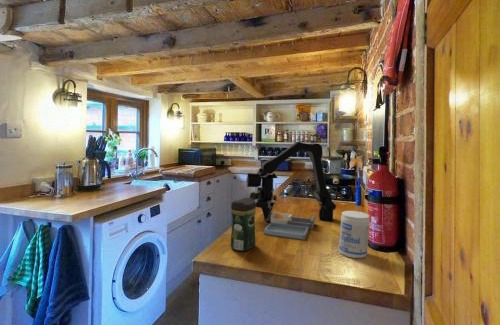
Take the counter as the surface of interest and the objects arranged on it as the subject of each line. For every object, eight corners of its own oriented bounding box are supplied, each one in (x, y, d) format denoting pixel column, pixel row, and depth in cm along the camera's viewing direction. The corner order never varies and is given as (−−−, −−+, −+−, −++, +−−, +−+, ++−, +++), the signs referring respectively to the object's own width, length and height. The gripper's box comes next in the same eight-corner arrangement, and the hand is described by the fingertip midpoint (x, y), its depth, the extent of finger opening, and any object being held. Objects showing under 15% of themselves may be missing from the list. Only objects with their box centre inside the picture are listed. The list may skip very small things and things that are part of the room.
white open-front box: (291, 222, 134) (291, 214, 134) (289, 225, 128) (289, 217, 128) (266, 219, 138) (266, 211, 138) (262, 222, 133) (263, 214, 132)
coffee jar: (240, 240, 108) (241, 195, 107) (258, 245, 104) (259, 197, 102) (226, 249, 100) (227, 199, 98) (244, 254, 96) (245, 202, 94)
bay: (314, 224, 132) (314, 216, 131) (312, 229, 123) (312, 221, 123) (290, 221, 136) (291, 213, 135) (287, 226, 127) (287, 218, 127)
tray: (308, 231, 121) (308, 226, 121) (304, 240, 111) (304, 235, 110) (270, 226, 127) (270, 222, 127) (263, 234, 116) (264, 229, 116)
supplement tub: (337, 256, 96) (340, 215, 95) (339, 246, 105) (341, 209, 103) (367, 261, 92) (370, 219, 91) (367, 250, 101) (369, 212, 100)
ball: (284, 218, 134) (281, 212, 135) (283, 219, 131) (279, 212, 131) (279, 222, 135) (275, 216, 136) (277, 223, 131) (273, 216, 132)
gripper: (257, 183, 145) (257, 211, 146) (245, 188, 128) (244, 221, 129) (278, 184, 141) (277, 213, 143) (268, 190, 124) (267, 224, 125)
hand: (266, 217), depth 135 cm, fingers closed on white open-front box, 3 cm apart
